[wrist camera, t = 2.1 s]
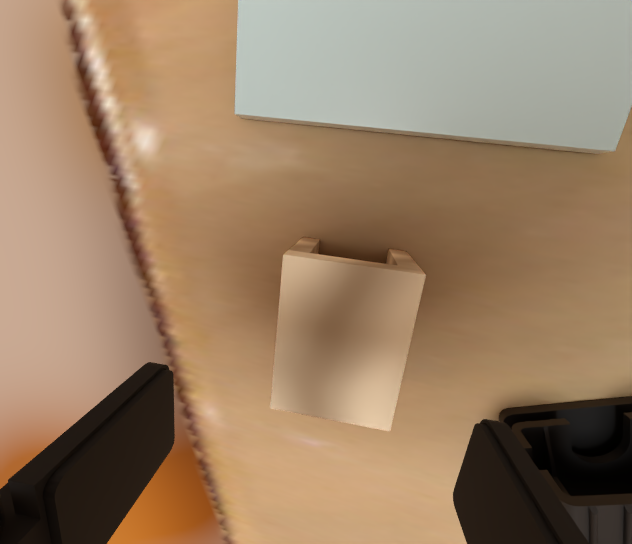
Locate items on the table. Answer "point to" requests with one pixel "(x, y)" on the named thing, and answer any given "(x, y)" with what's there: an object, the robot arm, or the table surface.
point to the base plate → (441, 68)
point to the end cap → (583, 460)
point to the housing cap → (344, 334)
